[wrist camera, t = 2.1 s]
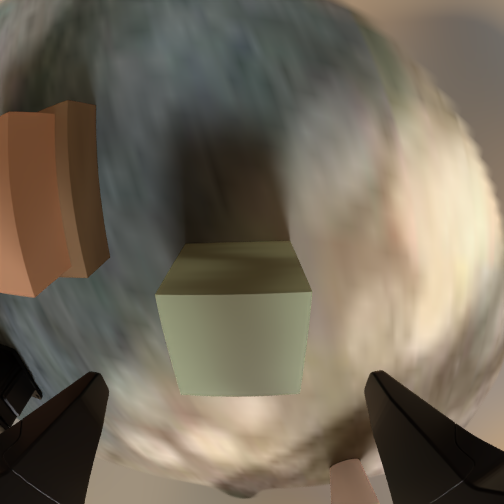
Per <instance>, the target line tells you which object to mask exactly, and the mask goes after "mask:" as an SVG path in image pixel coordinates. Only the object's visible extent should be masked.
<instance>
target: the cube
mask: <svg viewBox="0 0 504 504" xmlns="http://www.w3.org/2000/svg"><path fill="white" fill-rule="evenodd" d="M155 297H156V302H157V307H158V311H159V316H160V320H161V324H162V328H163V333H164V337H165V341H166V344H167V348H168V352H169V356H170V359H171V363H172V367H173V370H174V373H175V377H176V380H177V383H178V387H179V390H180V393H181V395H195V396H226V397H242V396H273V395H289V394H300V389H301V382H302V376H303V369H304V361H305V354H306V346H307V338H308V329H309V320H310V310H311V300H312V290H311V288H310V285H309V283H308V281H307V278H306V276H305V274H304V271H303V269H302V267H301V264H300V262H299V260H298V258H297V255H296V253H295V251H294V249H293V246H292V244H291V242H290V241H260V242H223V243H190V244H185V245H184V247H183V249H182V250H181V252H180V253H179V255H178V257H177V258H176V260H175V262H174V263H173V265H172V267H171V268H170V270H169V272H168V273H167V275H166V277H165V278H164V280H163V282H162V284H161V285H160V287H159V289H158V290H157V292H156V294H155Z"/></svg>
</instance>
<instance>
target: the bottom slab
mask: <svg viewBox="0 0 504 504" xmlns="http://www.w3.org/2000/svg"><path fill="white" fill-rule="evenodd" d="M36 113H51V114H55V158H56V173H57V185H58V194H59V202H60V209H61V216H62V222H63V228H64V234H65V239H66V244H67V249H68V253H69V258H70V262H71V266H72V267H70V268H69V269H68V270H67V271H65V272H64V273H63V274H62V275H60V276H59V277H74V278H88V277H89V276H90V275H91V274H92V273H93V272H95V271H96V270H97V269H98V268H99V267H100V266H101V265H102V264H103V263H104V262H105V261H106V260H108V259H109V258H110V254H109V248H108V243H107V237H106V232H105V225H104V219H103V212H102V204H101V196H100V187H99V177H98V164H97V146H96V105H92V104H87V103H81V102H76V101H71V100H66V101H64V102H61V103H58V104H56V105H53V106H51V107H48V108H46V109H43V110H41V111H38V112H36Z"/></svg>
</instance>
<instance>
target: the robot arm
mask: <svg viewBox="0 0 504 504" xmlns="http://www.w3.org/2000/svg"><path fill="white" fill-rule="evenodd" d="M364 394H365V399H366V403H367V408H368V413H369V418H370V423H371V428H372V432H373V436H374V439H375V442H376V445H377V448H378V452H379V455H380V458H381V461H382V465H383V468H384V472H385V475H386V479H387V482H388V486H389V489H390V493H391V497H392V501H393V504H504V451H502V450H500V449H498V448H496V447H494V446H492V445H490V444H488V443H487V442H485V441H483V440H481V439H479V438H477V437H476V436H474V435H473V434H471V433H469V432H468V431H466V430H465V429H463V428H462V427H461V426H459V425H458V424H455V422H453V421H452V420H451V419H449V418H448V417H446V416H445V415H444V414H442V413H441V412H439V411H438V410H437V409H435V408H434V407H432V406H431V405H430V404H428V403H427V402H425V401H424V400H423V399H421V398H420V397H419V396H417V395H416V394H414V393H413V392H412V391H410V390H409V389H408V388H406V387H405V386H403V385H402V384H401V383H399V382H398V381H397V380H395V379H394V378H393V377H391V376H390V375H389V374H387V373H386V372H384V371H382V370H379V371H374V372H371V373H370V375H369V378H368V380H367V383H366V386H365V389H364ZM31 396H33V397H35V398H38V399H42V397H43V396H42V394H41V392H40V391H39V389H38V388H37V386H36V385H35V383H34V382H33V380H32V378H31V377H30V375H29V374H28V372H27V370H26V369H25V367H24V365H23V363H22V362H21V360H20V358H19V356H18V354H17V353H16V351H15V350H13V349H11V348H8V347H5V346H2V345H0V504H84V503H85V497H86V492H87V488H88V483H89V478H90V474H91V470H92V466H93V461H94V458H95V454H96V450H97V447H98V443H99V439H100V436H101V432H102V428H103V423H104V417H105V412H106V406H107V401H108V396H109V389H108V387H107V385H106V383H105V381H104V379H103V377H102V375H101V374H100V373H97V372H88V373H87V374H85V375H84V376H82V377H81V378H80V379H78V380H77V381H75V382H74V383H73V384H71V385H70V386H68V387H67V388H66V389H64V390H63V391H61V392H60V393H59V394H57V395H56V396H54V397H53V398H51V399H50V400H49V401H47V402H46V403H44V404H43V405H42V406H40V407H39V408H37V409H36V410H35V411H33V412H32V413H30V414H29V415H27V416H26V417H25V418H23V419H22V420H20V421H19V422H18V423H16V424H15V425H13V426H12V424H13V423H14V421H15V419H16V417H17V416H20V414H21V412H22V411H23V409H24V407H25V406H26V404H27V403H28V401H29V399H30V398H31ZM11 426H12V427H11ZM9 427H10V428H9Z"/></svg>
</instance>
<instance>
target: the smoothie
mask: <svg viewBox="0 0 504 504" xmlns="http://www.w3.org/2000/svg"><path fill="white" fill-rule="evenodd" d="M330 486H331V504H380V503H379V501H378V499H377V496H376V494H375V492H374V490H373V488H372V486H371V484H370V481H369V479H368V477H367V475H366V473H365V471H364V468H363V466H362V464H361V462H360V460H359V459H349V460H345V461H342V462H339V463H337V464H335V465H333V466H332V467H331V468H330Z"/></svg>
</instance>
